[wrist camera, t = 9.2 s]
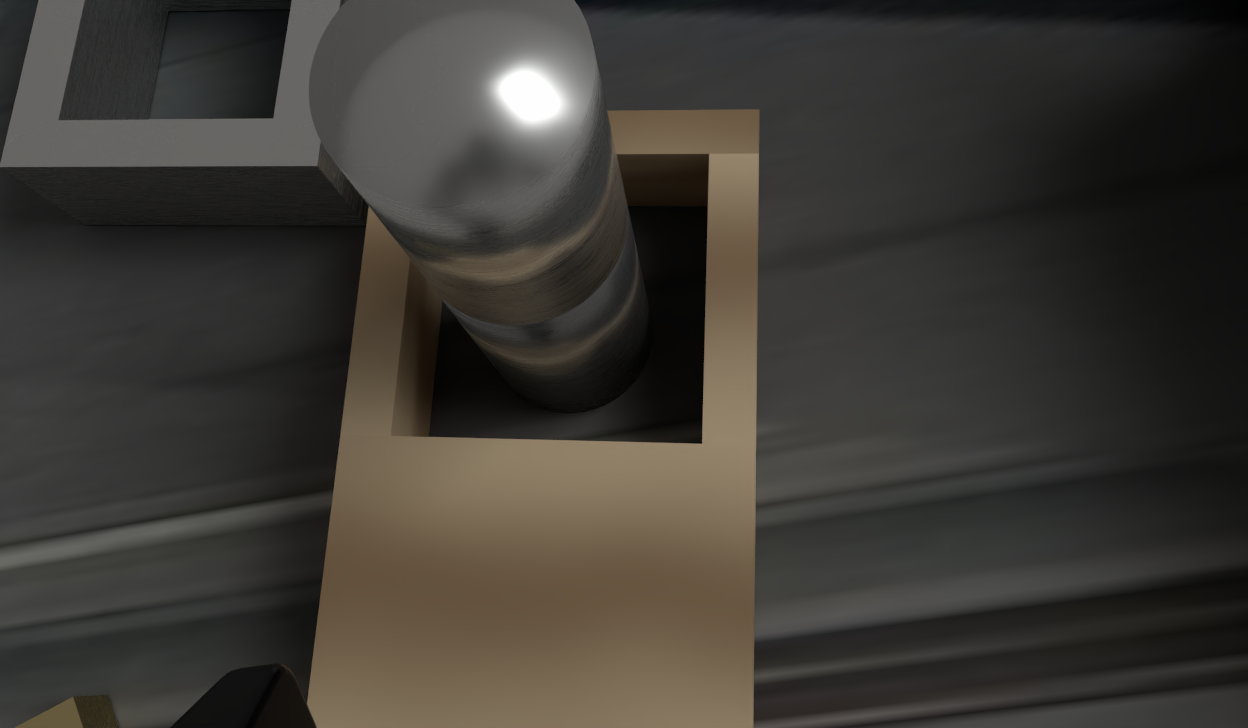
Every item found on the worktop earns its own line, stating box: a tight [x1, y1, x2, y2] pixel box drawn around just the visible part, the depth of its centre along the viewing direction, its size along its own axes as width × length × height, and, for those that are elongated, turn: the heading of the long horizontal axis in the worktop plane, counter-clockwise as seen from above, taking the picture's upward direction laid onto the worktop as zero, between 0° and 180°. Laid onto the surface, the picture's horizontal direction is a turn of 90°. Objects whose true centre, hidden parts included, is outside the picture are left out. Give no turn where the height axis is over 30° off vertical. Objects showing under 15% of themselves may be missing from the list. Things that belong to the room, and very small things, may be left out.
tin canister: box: [309, 0, 653, 413], centre depth 18 cm, size 4×4×10 cm
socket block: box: [0, 0, 369, 226], centre depth 24 cm, size 7×7×3 cm
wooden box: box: [307, 109, 759, 728], centre depth 21 cm, size 14×8×2 cm, turn 178°
